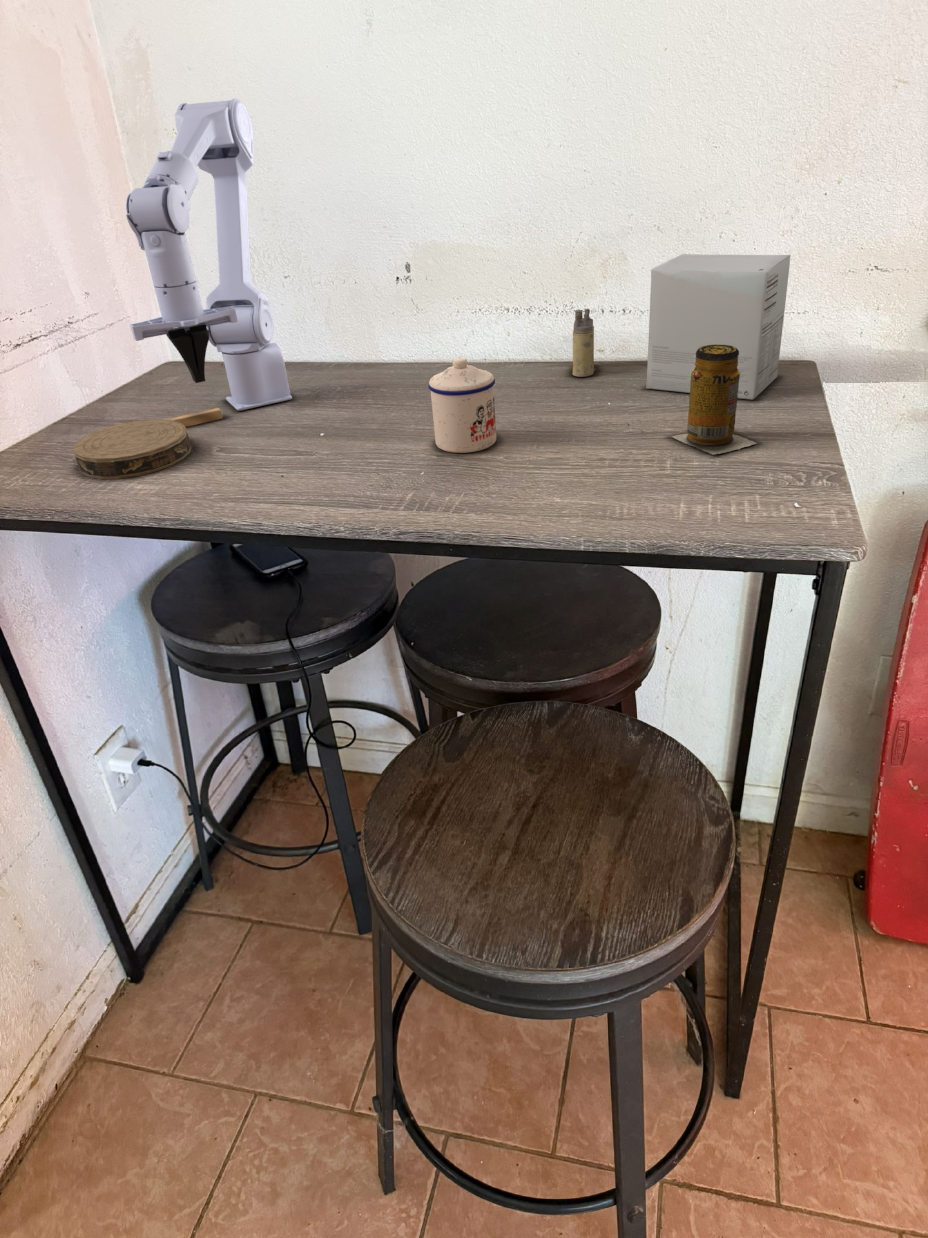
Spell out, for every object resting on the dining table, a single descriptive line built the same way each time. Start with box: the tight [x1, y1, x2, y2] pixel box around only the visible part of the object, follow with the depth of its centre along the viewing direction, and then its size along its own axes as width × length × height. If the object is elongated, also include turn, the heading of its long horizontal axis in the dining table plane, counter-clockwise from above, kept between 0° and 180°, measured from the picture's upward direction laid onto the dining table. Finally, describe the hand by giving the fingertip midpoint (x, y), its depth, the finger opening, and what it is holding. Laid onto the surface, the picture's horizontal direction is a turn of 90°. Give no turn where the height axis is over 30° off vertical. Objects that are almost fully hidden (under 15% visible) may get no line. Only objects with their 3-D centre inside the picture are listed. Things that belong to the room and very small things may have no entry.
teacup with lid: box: [427, 357, 497, 454], centre depth 117 cm, size 12×9×12 cm
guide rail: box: [164, 407, 223, 428], centre depth 133 cm, size 18×1×2 cm, turn 118°
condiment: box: [671, 344, 757, 456], centre depth 109 cm, size 7×8×12 cm
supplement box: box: [645, 253, 791, 400], centre depth 128 cm, size 17×13×18 cm
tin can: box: [72, 418, 192, 480], centre depth 123 cm, size 16×16×3 cm
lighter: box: [572, 307, 597, 378], centre depth 141 cm, size 7×4×10 cm, turn 171°
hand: (199, 380), depth 124 cm, fingers closed
